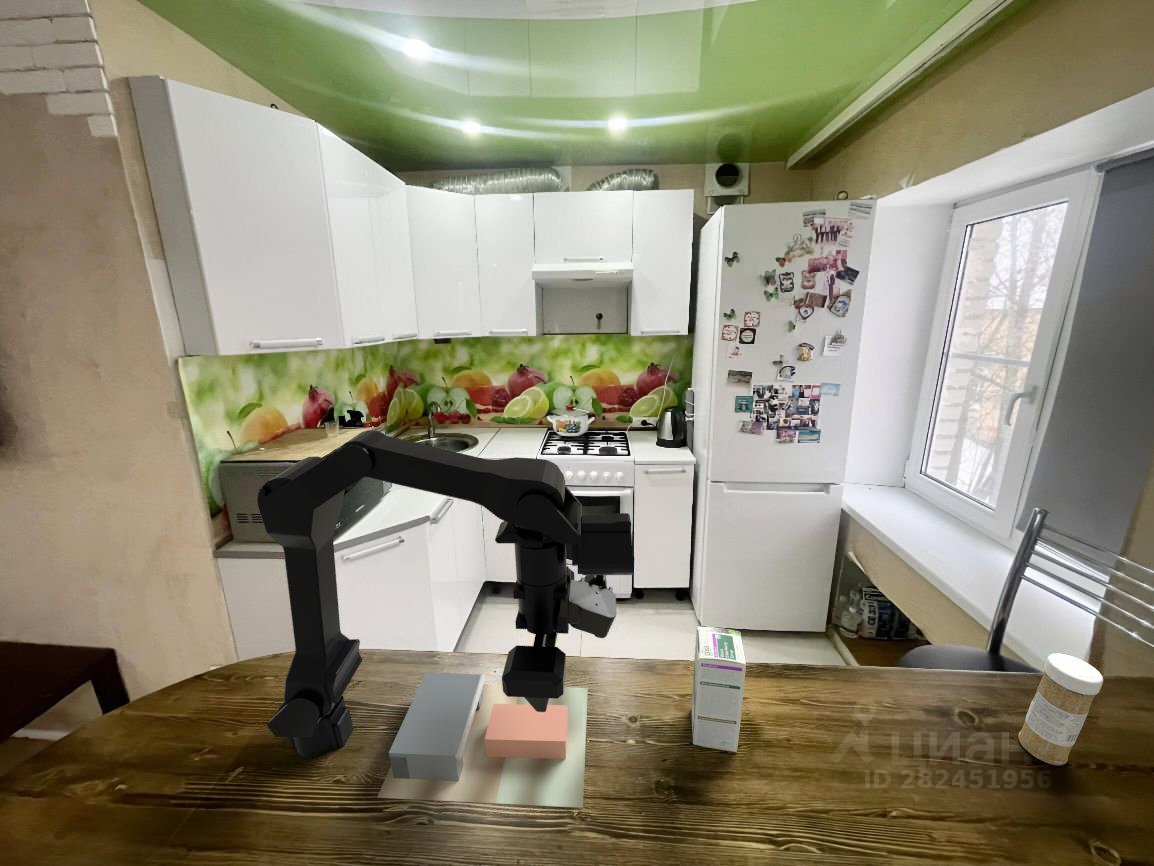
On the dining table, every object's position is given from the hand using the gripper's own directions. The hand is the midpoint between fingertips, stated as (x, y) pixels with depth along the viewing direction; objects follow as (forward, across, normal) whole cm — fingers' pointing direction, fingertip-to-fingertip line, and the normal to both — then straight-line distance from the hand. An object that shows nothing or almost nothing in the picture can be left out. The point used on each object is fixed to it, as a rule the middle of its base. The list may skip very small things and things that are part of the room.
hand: (546, 677), depth 56 cm
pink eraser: (+10, 0, +3) cm, 10 cm away
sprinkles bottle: (+11, +2, -63) cm, 64 cm away
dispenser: (+10, 0, +14) cm, 17 cm away
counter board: (+11, 0, +7) cm, 13 cm away
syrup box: (+11, +3, -22) cm, 25 cm away
